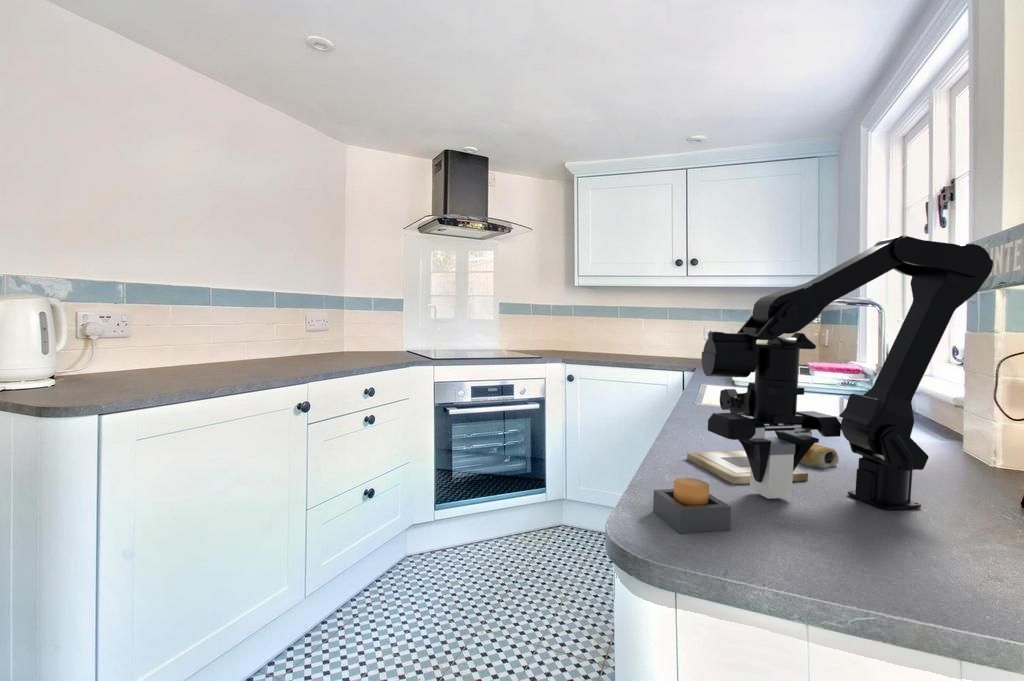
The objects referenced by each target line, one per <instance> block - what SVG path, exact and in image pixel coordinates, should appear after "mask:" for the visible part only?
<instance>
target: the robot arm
mask: <svg viewBox="0 0 1024 681" xmlns="http://www.w3.org/2000/svg"><path fill="white" fill-rule="evenodd" d="M993 267H994V260H993V259H992V258H991V255H990V253H989V252H988V250H986V248H984V247H982V246H981V245H978V244H974V243H968V244H962V245H961V244H956V243H952V242H950V243H949V242H943V241H941V242H940V241H934V240H933V241H932V240H923V239H920V238H916V237H912V236H908V235H899V236H898V235H897V236H893V237H889V238H885V239H881V240H879V241H877V242H876V243H875V244H874V245H872V247H870V248H868V249H866V250H864V251H862V252H860V253H858V254H856V255H855V256H854V257H851V258H849V259H847V260H846V261H844V262H842V263H840V264H838V265H836V266H835V267H833V268H831V269H829V270H828V271H826V272H824V273H822V274H820V275H818V276H817V277H815V278H813V279H811V280H809V281H807V282H804V283H802V284H799V285H796V286H793V287H788V288H785V289H781V290H779V291H776V292H773V293H770V294H767V295H764V296H762V297H760V298H759V299H757V301H755V303H754V304H753V309H752V312H751V313H752V314H751V316H750V317H749V318H748V319H747V321H746V322H745V323H744V324H743V325H742V326H741V328H740V329H739V330H738V331H737V333H733V332H731V333H729V332H722V331H709V332H707V333H708V334H707V340H706V341H705V343H704V346H703V350H702V351H701V367H702V368H701V369H702V371H703V373H704V375H705V376H706V377H712V378H714V377H715V378H716V377H717V378H748V377H749V376H750V375H751V373H754V382H748V385H747V387H746V389H747V391H746V392H743V393H742V392H741V393H739V392H737V390H736V389H735V388H725V389H724V388H723V389H721V390H720V394H719V405H720V406H719V407H720V409H721V410H723V411H729V412H712V414H711V415H710V416H709V417H708V419H707V432H710V433H713V434H715V435H718V436H720V437H722V438H725V439H728V440H733V441H734V440H735V441H736V440H737V441H739V442H738V443H740V444H741V446H742V448H743V451H745V452H746V455H747V458H748V461H749V464H750V467H751V470H752V473H753V476H754V479H755V481H757V482H762V480H763V477H764V474H765V470H766V465H767V460H768V455H769V451H770V446H771V441H769V440H767V439H764V437H765V436H766V435H765V434H766V433H765V432H774V433H775V434H776V438H779V439H782V440H785V441H788V442H791V443H794V444H796V446H795V454H794V462H793V471H794V470H795V468H796V469H797V467H798V466H799V464H800V463H799V462H800V461H801V459H802V458H803V457H804V455H805V454H806V453H807V452H808V450H809V449H810V448H811V447H812V445H813V444H817V443H819V442H820V439H819V438H818V437H814V436H813V431H814V430H817V432H818V433H819V434H820V435H821V436H822V437H825V438H830V437H831V438H832V437H835V438H836V437H841V433H842V435H843V438H845V440H847V441H848V443H849V446H850V450H851V452H852V453H853V454H858V455H859V456H861V457H859V458H858V468H856V474H855V475H856V476H855V477H856V478H855V490H848V491H847V495H849V496H851V497H853V498H856V499H858V500H861V501H863V502H865V503H868V504H870V505H873V506H875V507H877V508H880V509H881V510H885V511H889V510H905V509H906V510H907V509H920V508H922V504H921V503H919V502H918V501H914V500H911V497H912V487H913V486H912V484H913V483H912V482H913V472H914V471H915V470H918V471H923V470H924V469H925V467H926V464H927V462H928V460H929V455H928V454H927V453H926V452H925V451H924V450H923V449H922V448H921V447H920V445H918V444H917V442H916V441H915V440H913V438H912V437H911V435H912V432H913V429H914V425H915V418H914V417H915V416H914V412H913V409H914V408H913V404H912V402H913V398H914V396H915V394H916V392H917V390H918V388H919V386H920V384H921V382H922V379H923V378H924V376H925V373H926V371H927V370H928V367H929V364H930V363H931V360H932V359H933V356H934V354H936V353H935V352H936V350H937V348H938V347H939V344H940V342H941V340H942V339H943V335H944V334H945V332H946V329H947V327H948V326H949V324H950V321H951V319H952V317H953V315H954V313H955V311H956V310H957V309H958V308H959V307H961V306H962V305H963V304H964V303H965V302H967V301H968V300H969V299H971V298H972V297H973V296H975V295H976V294H978V292H979V290H981V288H982V286H983V284H984V283H985V282H986V281H987V279H988V278H989V276H990V275H991V273H992V271H993ZM892 270H894V271H896V272H898V273H900V274H901V275H905V276H908V277H909V276H910V277H911V280H910V289H911V294H912V303H911V305H910V308H909V309H908V312H907V314H906V315H905V317H904V319H903V322H902V324H901V326H900V329H899V331H898V332H897V335H896V337H895V339H894V341H893V343H892V346H891V347H890V349H889V351H888V354H887V356H886V357H885V360H884V362H883V364H882V367H881V369H880V370H879V373H878V375H877V377H876V379H875V381H874V384H873V385H872V386H871V388H870V389H869V390H868V391H866V392H865V393H864V394H863V395H861V394H857V393H851V394H850V396H849V397H848V399H847V402H846V406H845V407H844V410H843V411H842V412H841V413H840V414H839V415H838V417H840V418H842V419H841V422H840V420H839V419H838V418H837V416H835V415H830V414H825V413H822V412H817V411H814V410H810V411H809V410H806V411H805V410H804V411H802V410H799V411H798V410H797V406H798V396H799V395H800V396H801V395H802V396H803V395H805V387H802V386H801V387H800V386H799V369H800V366H799V365H800V350H815V349H817V345H816V344H815V343H813V341H812V340H810V339H809V338H808V336H806V334H805V333H804V332H799V331H801V330H803V329H804V328H806V327H807V326H808V325H809V324H810V323H812V322H813V321H814V320H816V319H817V318H818V317H819V316H820V314H821V313H822V312H823V311H824V310H825V308H827V307H828V306H829V305H830V304H831V303H833V302H834V301H836V300H838V299H841V298H842V297H845V296H846V295H848V294H849V293H851V292H853V291H855V290H857V289H859V288H861V287H862V286H864V285H865V286H866V284H868V283H870V282H872V281H874V280H875V279H877V278H879V277H881V276H883V275H885V274H886V273H888V272H890V271H892ZM784 334H787V335H789V334H792V335H791V336H790V337H789V336H788V337H787V336H785V337H783V336H782V335H784ZM757 341H766V343H757ZM750 417H751V418H750ZM812 430H813V431H812Z"/></svg>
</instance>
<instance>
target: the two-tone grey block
mask: <svg viewBox="0 0 1024 681" xmlns="http://www.w3.org/2000/svg"><path fill="white" fill-rule="evenodd" d="M764 439H767V440H769V441H771V446H770V451H769V455H768V460H767V465H766V470H765V474H764V477H763V480H762V482H757V481H755V479H754V476H753V473H752V470H751V474H750V483H749V490H750V491H753V492H754V493H756V494H758V495H759V496H761V497H764V498H766V499H783V498H784V499H785V498H792V496H793V482H794V481H793V462H794V454H795V446H796V444H794V443H791V442H788V441H785V440H782V439H779V438H778V437H777V436H769V437H767V436H766V437H764Z"/></svg>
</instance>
